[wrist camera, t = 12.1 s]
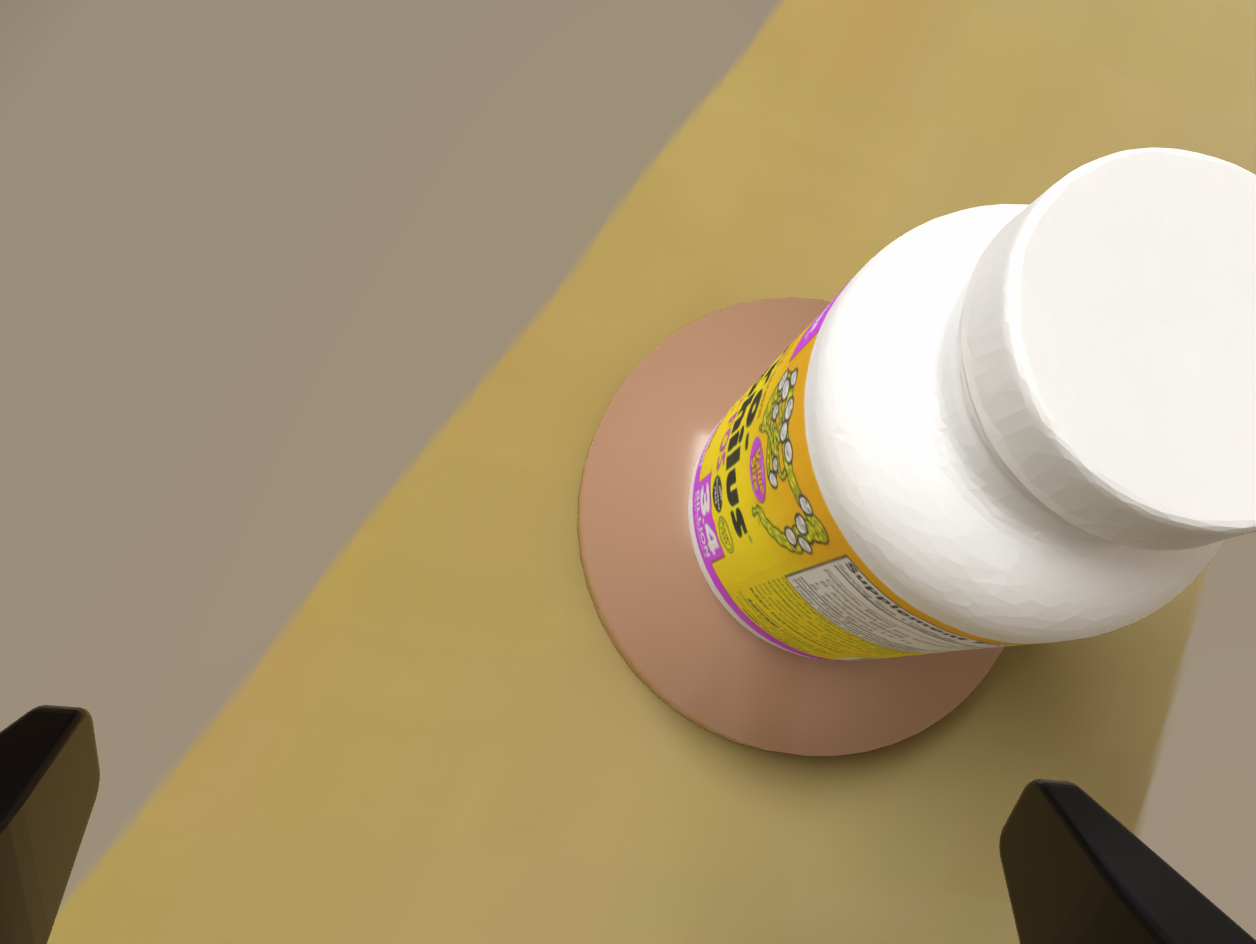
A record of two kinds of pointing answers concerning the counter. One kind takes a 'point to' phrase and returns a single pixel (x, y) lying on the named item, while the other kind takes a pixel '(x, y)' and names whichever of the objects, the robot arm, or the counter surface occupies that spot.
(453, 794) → the counter surface
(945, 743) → the counter surface
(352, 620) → the counter surface
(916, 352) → the supplement bottle
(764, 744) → the terracotta round disc
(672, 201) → the counter surface
